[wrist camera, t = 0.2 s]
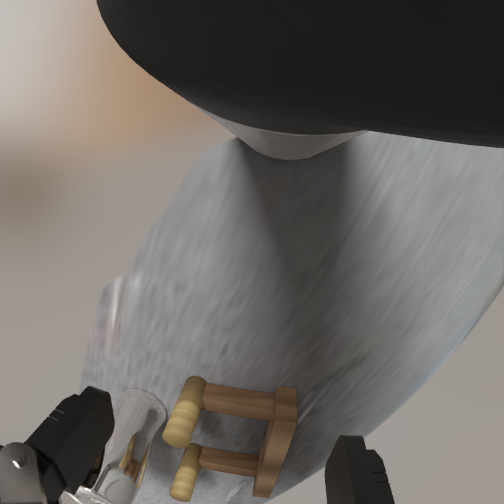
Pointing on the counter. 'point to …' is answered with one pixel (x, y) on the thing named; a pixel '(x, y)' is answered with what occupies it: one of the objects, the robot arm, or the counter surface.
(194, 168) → the counter surface
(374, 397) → the counter surface
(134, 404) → the silver metal cup
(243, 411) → the holder
